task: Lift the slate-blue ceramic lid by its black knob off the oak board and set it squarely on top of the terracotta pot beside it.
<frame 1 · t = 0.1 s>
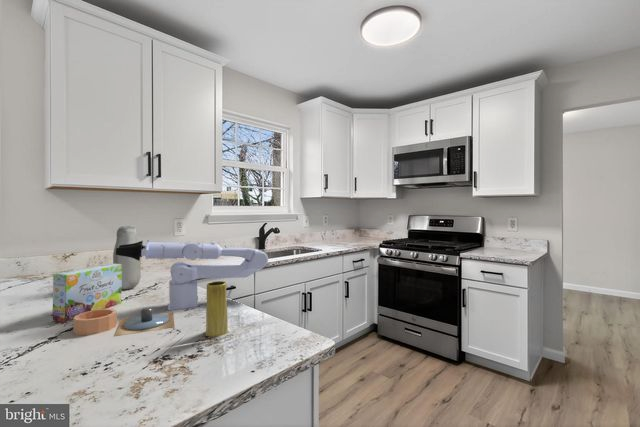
hand: (117, 249, 104), 22 cm above the countertop, tool horizontal, fingers open, 7 cm apart
snack box: (90, 312, 107), on the countertop
lid: (146, 323, 95), resting on oak board
terracotta pot: (96, 329, 91), on the countertop
grey bottle: (127, 289, 139), on the countertop
vase: (216, 334, 88), on the countertop
oak board: (146, 324, 95), on the countertop
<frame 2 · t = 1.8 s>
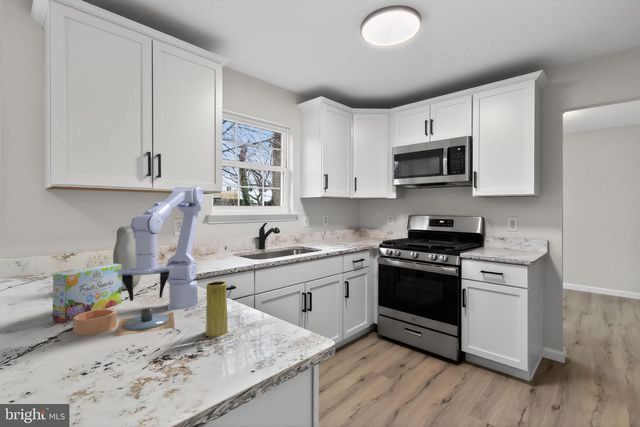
hand: (146, 298, 95), 8 cm above the countertop, tool pointing down, fingers open, 7 cm apart
nothing on the countertop moved.
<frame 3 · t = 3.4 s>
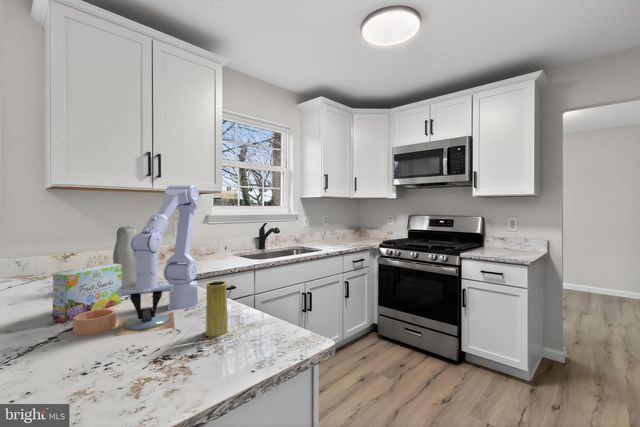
hand: (146, 317, 95), 2 cm above the countertop, tool pointing down, fingers closed on lid, 3 cm apart
lid: (146, 322, 95), resting on oak board, touching gripper
everything else where it was.
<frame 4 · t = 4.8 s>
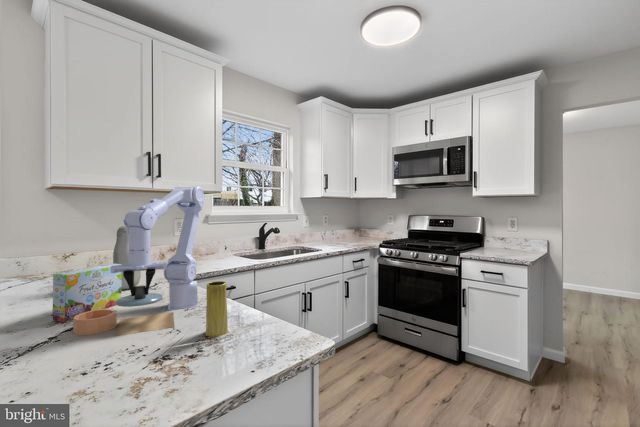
hand: (139, 294, 94), 9 cm above the countertop, tool pointing down, fingers closed on lid, 3 cm apart
lid: (140, 300, 94), point 7 cm above the countertop, touching gripper
everything else where it was.
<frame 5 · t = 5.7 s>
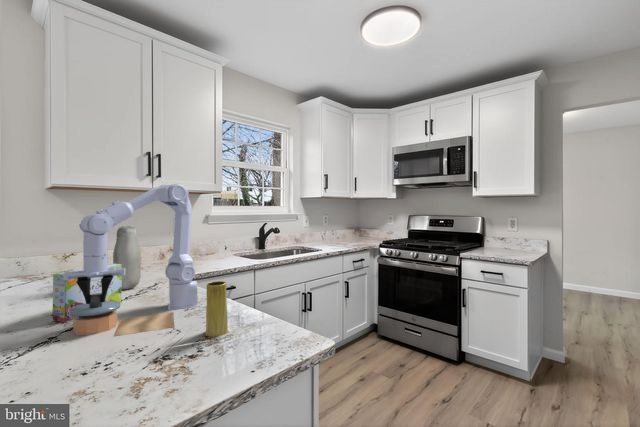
hand: (95, 302, 91), 8 cm above the countertop, tool pointing down, fingers closed on lid, 3 cm apart
lid: (95, 309, 91), point 6 cm above the countertop, touching gripper
everything else where it was.
when the fingers open (7 cm above the countertop, at t = 6.5 s): lid stays where it is, resting on terracotta pot.
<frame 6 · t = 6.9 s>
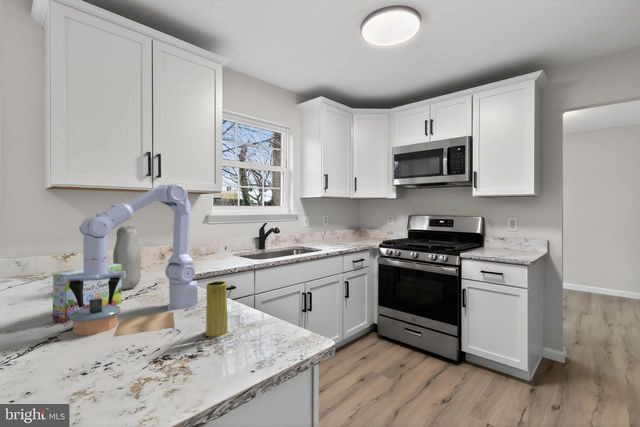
hand: (95, 304, 91), 7 cm above the countertop, tool pointing down, fingers open, 6 cm apart
lid: (95, 314, 91), point 4 cm above the countertop, touching terracotta pot
everything else where it was.
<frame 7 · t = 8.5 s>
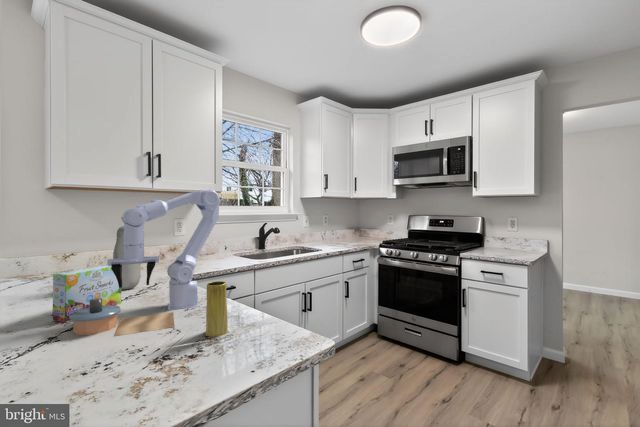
hand: (134, 285, 103), 10 cm above the countertop, tool pointing down, fingers open, 7 cm apart
nothing on the countertop moved.
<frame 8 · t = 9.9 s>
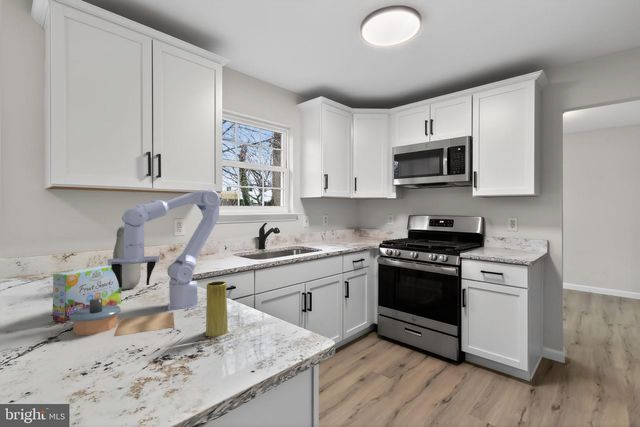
hand: (134, 285, 103), 10 cm above the countertop, tool pointing down, fingers open, 7 cm apart
nothing on the countertop moved.
at the end: lid 0.1 cm off-centre on the terracotta pot, point 4.5 cm above the terracotta pot's base; lid tilted 0°; the gripper is holding nothing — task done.
